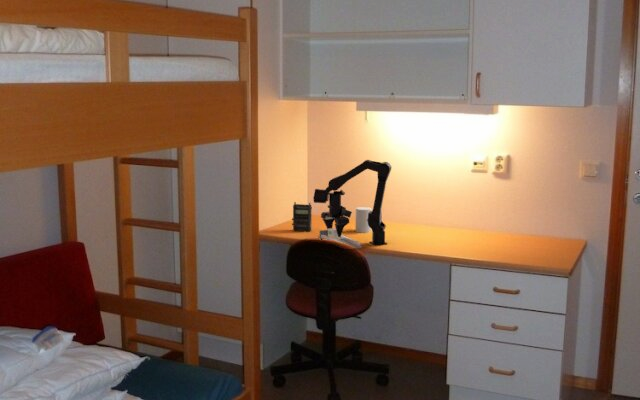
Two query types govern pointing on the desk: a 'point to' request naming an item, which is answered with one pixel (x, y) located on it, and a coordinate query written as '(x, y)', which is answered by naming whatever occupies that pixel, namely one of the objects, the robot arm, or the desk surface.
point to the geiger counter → (301, 217)
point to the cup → (362, 219)
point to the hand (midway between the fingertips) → (334, 235)
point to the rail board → (344, 240)
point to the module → (333, 234)
